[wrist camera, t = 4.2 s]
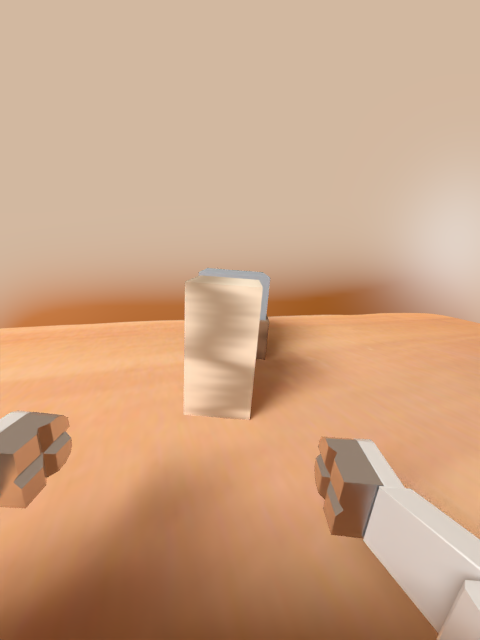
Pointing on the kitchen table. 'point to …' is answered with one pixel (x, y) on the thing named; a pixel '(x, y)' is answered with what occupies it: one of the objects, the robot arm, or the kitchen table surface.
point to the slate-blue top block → (244, 275)
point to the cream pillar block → (220, 345)
